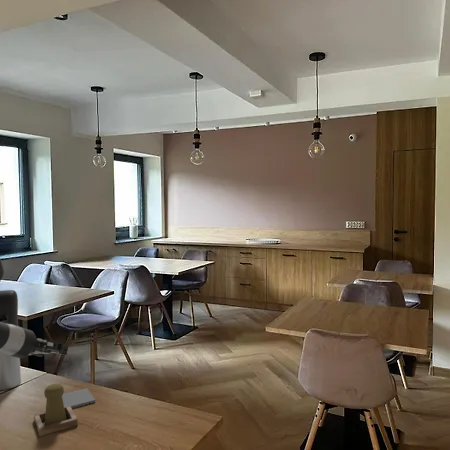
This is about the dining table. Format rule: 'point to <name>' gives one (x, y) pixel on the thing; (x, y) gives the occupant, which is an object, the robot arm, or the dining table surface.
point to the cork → (54, 404)
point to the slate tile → (78, 398)
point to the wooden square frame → (56, 426)
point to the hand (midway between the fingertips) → (54, 352)
